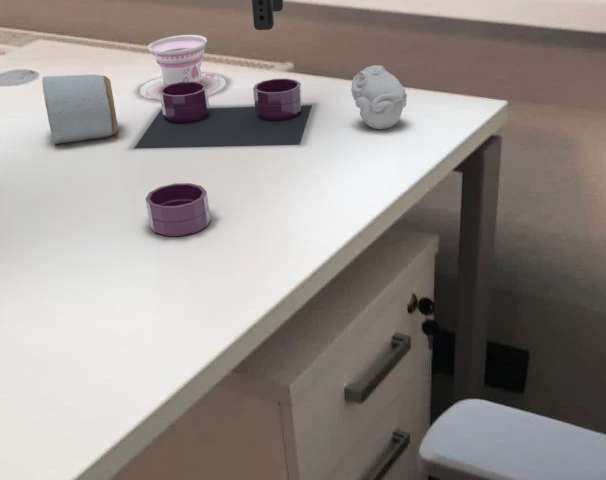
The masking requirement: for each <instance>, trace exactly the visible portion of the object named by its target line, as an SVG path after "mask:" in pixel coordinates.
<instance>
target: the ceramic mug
mask: <svg viewBox="0 0 606 480" xmlns="http://www.w3.org/2000/svg"><path fill="white" fill-rule="evenodd" d="M41 82H42V93H43V98H44V103H45V109H46V114H47V118H48V124H49V130H50V134H51V139H52V141H53V144H54V145H59V144H61V145H62V144H66V143H67V144H68V143H75V142H83V141H89V140H97V139H104V138H107V137H112V136H115V135H116V134H117V133H118V131H119V127H118V120H117V119H118V118H117V114H116V106H115V101H114V100H115V99H114V95H113V88H112V83H111V79H110V78H109V77H108V76H107V75H102V74H96V73H95V74H79V75H77V74H75V75H50V76H48V75H46V76H42V81H41Z"/></svg>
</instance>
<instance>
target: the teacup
mask: <svg viewBox="0 0 606 480" xmlns="http://www.w3.org/2000/svg"><path fill="white" fill-rule="evenodd" d="M207 42H208V39H207V37H206V36H204V35H200V34H198V35H197V34H180V35H179V34H178V35H173V36H172V35H171V36H167V37H163V38H159V39H157V40H154V41H152V42H151V43H149V44H148V45H147V50H148V51H149V53H150V54H151V55H152V56H153V57H154V58H156V63H157V64H158V66H159V67H160V70H161V77H157V78H154V79H152V80H150V81H148V82H146V83H144V84H143V85H142V86H141V87H140V88H139V94H140V95H141V96H142V97H143V98H145V99H147V100H150V101H154V102H161V99H160V98H159V97H157V98H156V97H153V96H150V95H149V94H148V93H147V90H148V89H149V88H150V87H151V86H153V85H155V84H157V83H159V82H162V83H163V84H164V85H165V86H167V85H170V84H173V83H179V82H193V81H194V82H200V83H201V81H202V79H203V78H209V79H213V80H216V81H217V82H218V84H219V86H218V87H217V89H215V90H212V91H211V92H208V97H209V96H212V95H216V94H217V93H219V92H221V91H222V90H224V88H226V85H227V82H226V79H225V78H224V77H222V76H220V75H217V74H214V73H208V72H202V69H201V66H202V64H203V60H204V57H205V49H206V47H207Z"/></svg>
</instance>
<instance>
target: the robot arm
mask: <svg viewBox="0 0 606 480" xmlns="http://www.w3.org/2000/svg"><path fill="white" fill-rule="evenodd" d="M251 5H252V18H253V19H252V20H253V27H254V29H255V30H257V31H271V30H272V29H273V27H274V25H275V21H274V12H281V11H282V10H283V8H284V0H251Z"/></svg>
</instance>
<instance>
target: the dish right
mask: <svg viewBox="0 0 606 480" xmlns="http://www.w3.org/2000/svg"><path fill="white" fill-rule="evenodd" d="M252 92H253V102H254V107H255V112H256V113H257V114H259V116H260V117H261V118H263V119H266V120H285V119H289V118H293V117H295V116H297V115H298V114H299V112H300V111H301V109H302V105H303V96H302V83H301V82H300V81H298V80H297V79H293V78H271V79H267V80H261V81H259V82H257V83H256V84H254V86H253V88H252Z"/></svg>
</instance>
